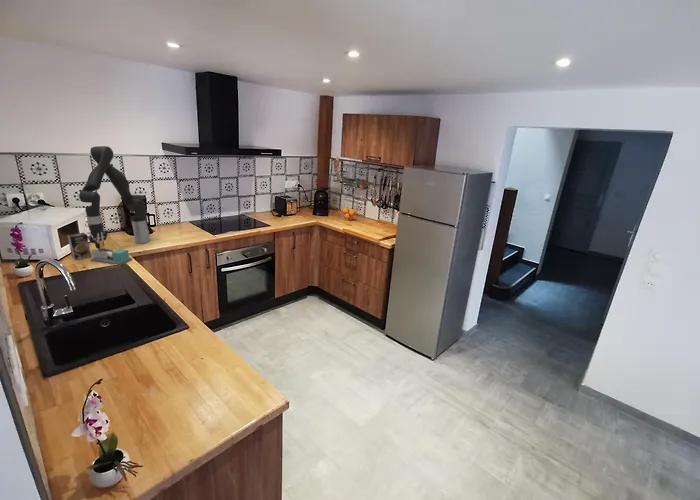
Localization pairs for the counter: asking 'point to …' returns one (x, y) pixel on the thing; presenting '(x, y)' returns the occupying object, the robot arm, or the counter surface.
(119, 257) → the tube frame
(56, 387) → the counter surface
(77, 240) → the coffee box
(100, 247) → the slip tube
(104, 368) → the counter surface
